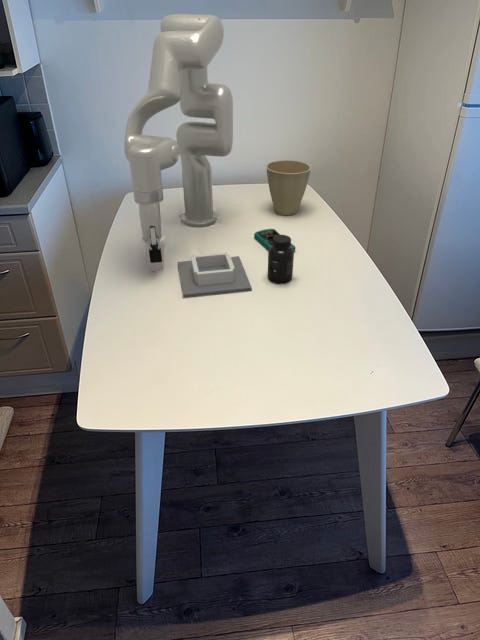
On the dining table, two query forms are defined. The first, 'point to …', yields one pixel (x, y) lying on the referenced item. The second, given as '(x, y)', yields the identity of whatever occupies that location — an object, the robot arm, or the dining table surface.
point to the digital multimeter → (267, 238)
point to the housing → (213, 275)
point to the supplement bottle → (280, 260)
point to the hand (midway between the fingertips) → (155, 255)
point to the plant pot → (287, 184)
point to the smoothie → (160, 265)
